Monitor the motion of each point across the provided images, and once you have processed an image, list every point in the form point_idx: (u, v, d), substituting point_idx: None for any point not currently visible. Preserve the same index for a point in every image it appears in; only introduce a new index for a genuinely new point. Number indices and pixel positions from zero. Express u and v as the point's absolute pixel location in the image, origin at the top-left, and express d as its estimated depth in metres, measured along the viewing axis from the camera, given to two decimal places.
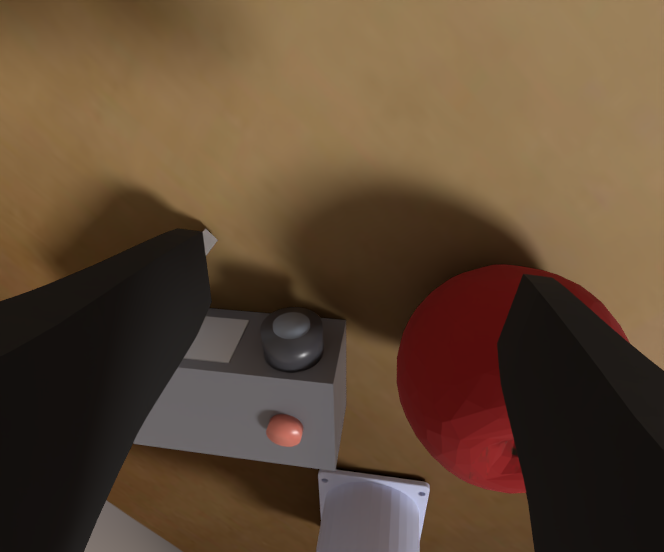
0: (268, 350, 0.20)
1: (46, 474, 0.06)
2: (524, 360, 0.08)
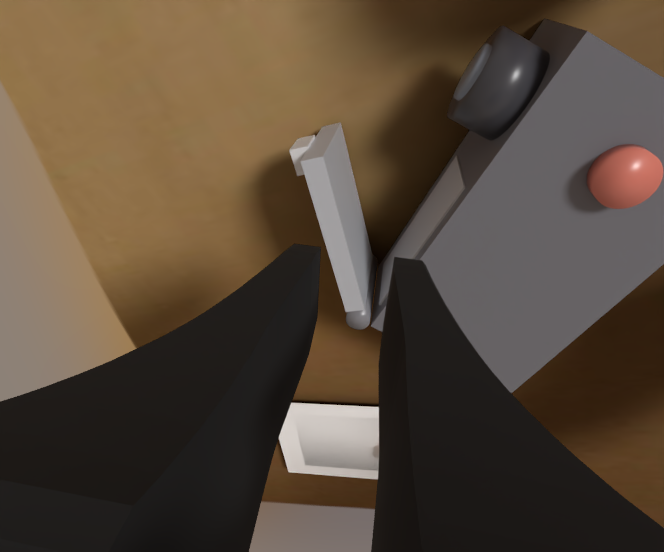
0: (476, 116, 0.14)
1: (233, 510, 0.06)
2: (386, 339, 0.09)
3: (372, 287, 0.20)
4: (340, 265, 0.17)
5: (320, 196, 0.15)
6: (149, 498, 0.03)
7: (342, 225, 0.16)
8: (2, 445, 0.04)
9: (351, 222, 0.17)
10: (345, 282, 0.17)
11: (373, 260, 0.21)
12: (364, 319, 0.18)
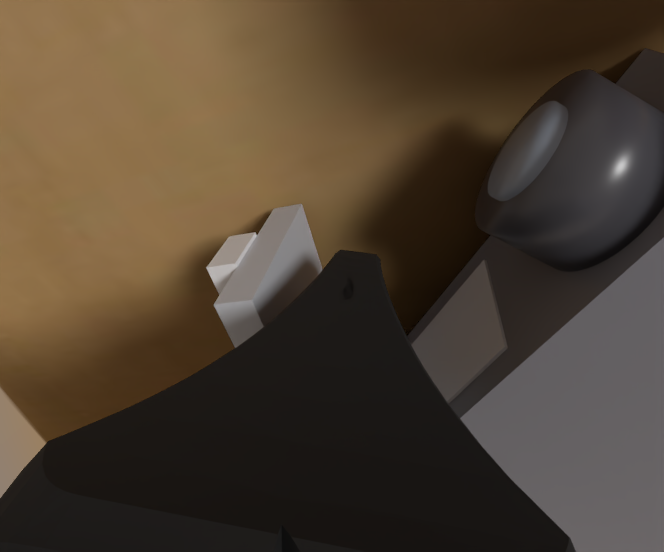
0: (536, 240, 0.07)
1: None
2: None
3: None
4: None
5: None
6: None
7: None
8: (122, 468, 0.03)
9: None
10: None
11: None
12: None
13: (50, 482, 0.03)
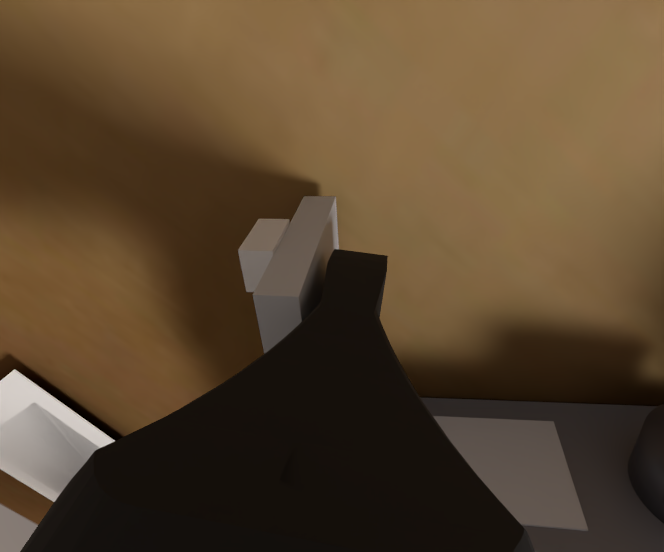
0: None
1: None
2: None
3: None
4: None
5: None
6: (341, 536, 0.03)
7: None
8: (174, 478, 0.03)
9: None
10: None
11: None
12: None
13: (105, 493, 0.03)
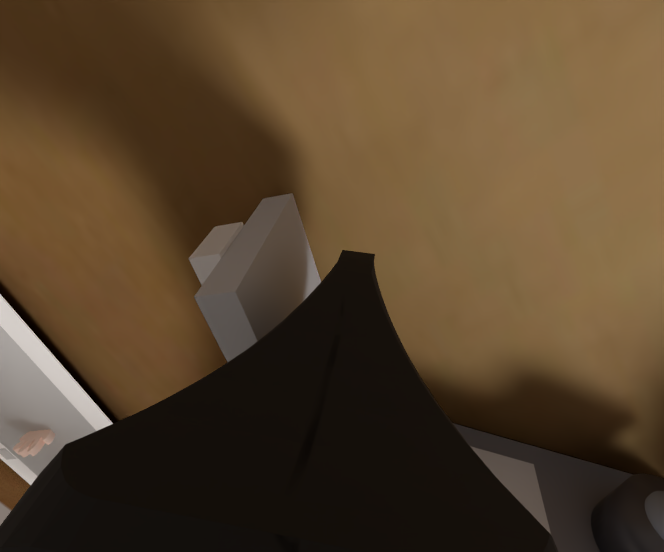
0: None
1: None
2: None
3: None
4: None
5: (239, 352, 0.08)
6: (304, 528, 0.03)
7: None
8: (141, 471, 0.03)
9: None
10: None
11: None
12: None
13: (70, 485, 0.03)
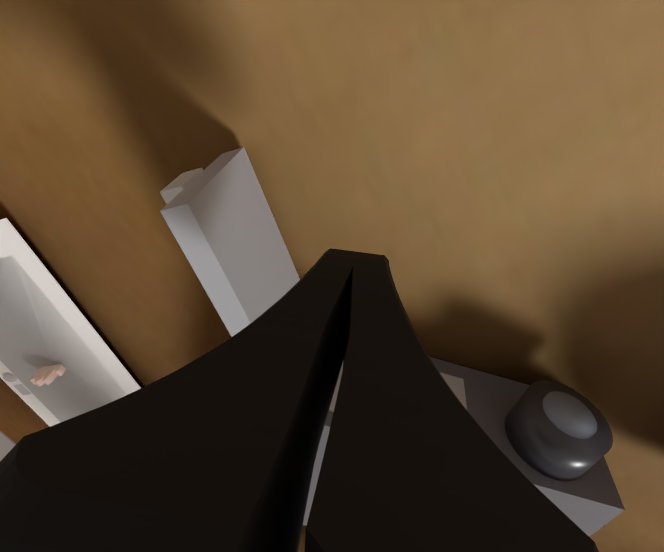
0: (543, 447, 0.14)
1: (291, 522, 0.06)
2: (346, 334, 0.09)
3: None
4: None
5: (197, 254, 0.11)
6: (252, 518, 0.03)
7: (235, 289, 0.12)
8: (95, 463, 0.03)
9: (260, 277, 0.13)
10: None
11: None
12: None
13: (20, 475, 0.03)
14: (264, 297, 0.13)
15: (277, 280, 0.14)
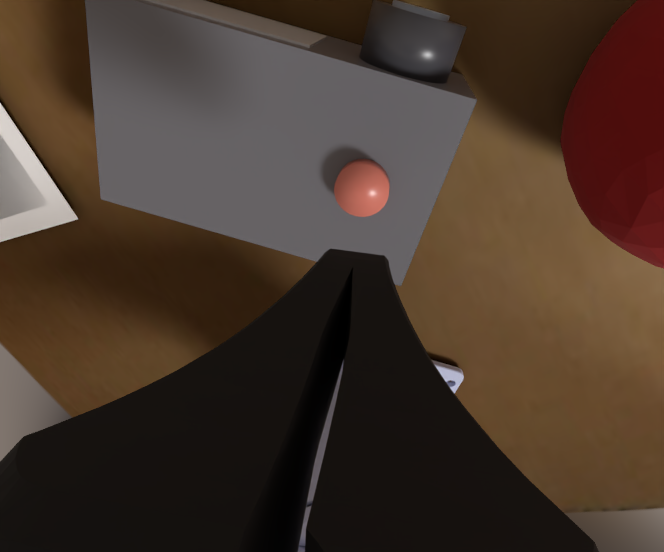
0: (384, 29, 0.13)
1: (292, 522, 0.06)
2: (346, 334, 0.09)
3: None
4: None
5: None
6: (253, 518, 0.03)
7: None
8: (95, 463, 0.03)
9: None
10: None
11: None
12: None
13: (21, 476, 0.03)
14: None
15: None
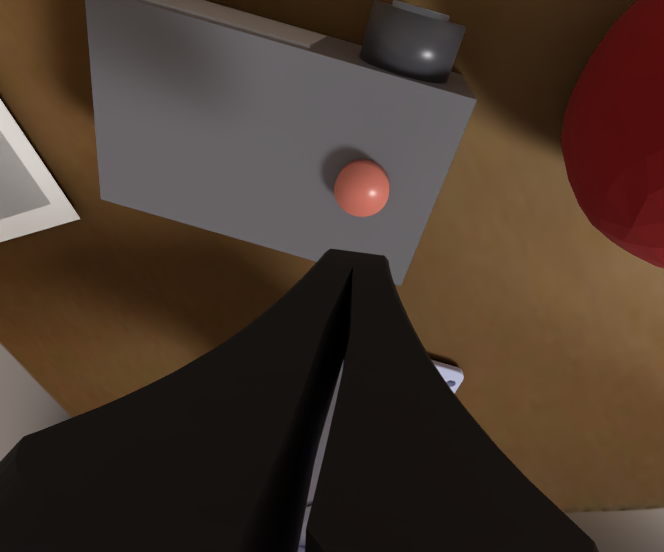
0: (384, 29, 0.13)
1: (292, 522, 0.06)
2: (346, 334, 0.09)
3: None
4: None
5: None
6: (253, 518, 0.03)
7: None
8: (95, 463, 0.03)
9: None
10: None
11: None
12: None
13: (21, 476, 0.03)
14: None
15: None
